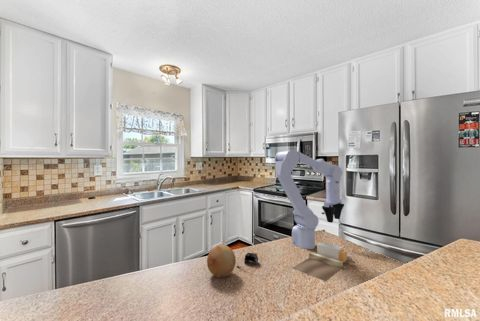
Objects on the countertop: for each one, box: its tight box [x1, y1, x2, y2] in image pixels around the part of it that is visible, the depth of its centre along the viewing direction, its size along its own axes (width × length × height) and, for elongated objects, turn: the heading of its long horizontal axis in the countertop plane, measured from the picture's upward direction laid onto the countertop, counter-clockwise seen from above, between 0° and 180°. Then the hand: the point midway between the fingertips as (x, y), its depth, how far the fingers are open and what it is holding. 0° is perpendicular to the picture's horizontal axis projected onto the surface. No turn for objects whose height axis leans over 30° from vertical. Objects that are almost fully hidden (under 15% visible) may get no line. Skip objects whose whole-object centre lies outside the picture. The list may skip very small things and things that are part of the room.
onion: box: [206, 243, 237, 278], centre depth 74 cm, size 10×10×10 cm
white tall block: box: [316, 241, 348, 263], centre depth 82 cm, size 10×4×5 cm, turn 43°
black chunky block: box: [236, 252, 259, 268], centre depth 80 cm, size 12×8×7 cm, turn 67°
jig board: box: [292, 251, 353, 282], centre depth 79 cm, size 12×22×3 cm, turn 134°
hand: (333, 220), depth 101 cm, fingers open, 7 cm apart
